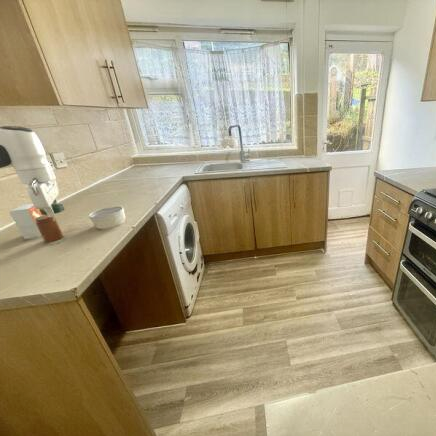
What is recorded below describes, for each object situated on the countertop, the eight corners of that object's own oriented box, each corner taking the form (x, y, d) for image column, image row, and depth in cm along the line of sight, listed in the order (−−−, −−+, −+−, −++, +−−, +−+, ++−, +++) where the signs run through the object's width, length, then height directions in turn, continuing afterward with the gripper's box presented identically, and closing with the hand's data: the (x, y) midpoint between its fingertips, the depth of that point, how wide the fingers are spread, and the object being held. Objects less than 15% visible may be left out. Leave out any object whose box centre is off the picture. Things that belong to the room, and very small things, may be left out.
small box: (43, 236, 104) (28, 208, 99) (24, 239, 103) (8, 211, 97) (52, 229, 111) (38, 202, 106) (35, 231, 110) (20, 204, 104)
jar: (44, 245, 98) (32, 221, 93) (46, 239, 102) (35, 216, 98) (63, 240, 101) (53, 217, 97) (65, 235, 105) (54, 213, 101)
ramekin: (108, 219, 121) (103, 206, 118) (134, 218, 120) (129, 205, 117) (87, 231, 109) (81, 217, 106) (115, 231, 108) (110, 216, 105)
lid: (68, 207, 93) (66, 202, 93) (60, 213, 88) (57, 208, 87) (47, 210, 91) (44, 205, 91) (37, 216, 86) (34, 211, 85)
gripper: (43, 180, 78) (60, 219, 84) (54, 169, 94) (68, 203, 99) (15, 184, 75) (35, 224, 80) (32, 172, 90) (48, 207, 96)
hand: (54, 212), depth 90 cm, fingers closed on lid, 6 cm apart
